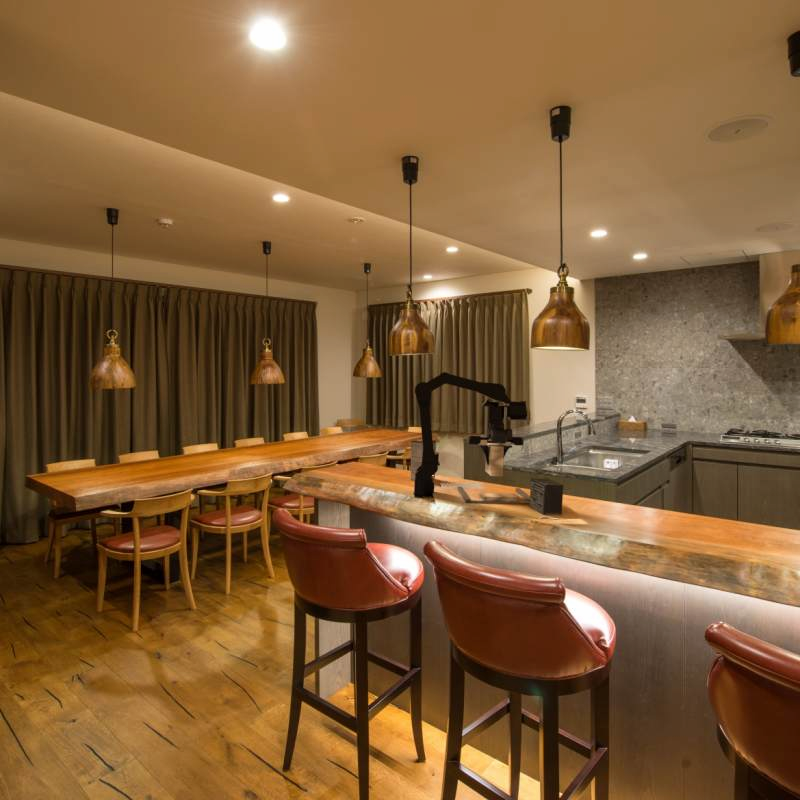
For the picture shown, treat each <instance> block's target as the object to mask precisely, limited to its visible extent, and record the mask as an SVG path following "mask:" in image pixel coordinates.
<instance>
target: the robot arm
mask: <svg viewBox="0 0 800 800" xmlns="http://www.w3.org/2000/svg"><path fill="white" fill-rule="evenodd" d="M444 385H449V386H454V387H456V388H460V389H463V390H464V389H465V390H469V391H472V392H476V393H478V394H480V395H482V396H484V397H486V398H489V399H491V400H493V401H490V400H489V399H485V401H484V402H483V403H482V404H481V407H487V413H486V419H487V420H486V436H481V435H479V434H468V435H467V437H466V443H467V444H468V445H476V446H478V447H480V449H481V452H482V453H483V457H484V459H485V463H487V465H489V455H488V445H487V443H497V444H500V445H501V446H503V447H504V453H503V460H504V459H505V456H506V454H507V452H508V450H509V449H510V448H511V449H512V448H513V445H514V446H524V445H525V444H524V441H525V440H524V438H523V437H522V436H520V435H513V428H506V429H505V418H508V421H523V422H524V421H525V422H526V421H527V418H528V410H527V401H526V400H520V401H518V400H517V401H512V400H511V399H510V398H509V397H508V395H507V390H506V388H505V386H504V385H503V384H501V383H497V382H485V381H483V382H482V381H478V380H474V379H469V378H466V377H461V376H458V375H455V374H452V373H448V372H446V371H443V372H441V373H440V374H439V375H436V376H435V377H433V378H432V379H430V380H428V381H427V382H424V381H421V382H419V383H417V384H416V385H415V388H414V394H415V397H416V401H417V405H418V408H419V415H420V416H419V418H420V429H421V438H422V439H421V440H422V442H423V454H422V465H421V466H420V467H419V468H418V469H416V472H415V476H416V477H414V480H413V481H414V482H413V497H414V498H434V494H435V482H434V479H433V478H432V475H434V474H435V475H436V473H438V470H439V467H440V466H441V464H440V463H441V462H440V460H439V456H440V455H439V451H436V452H435V451H434V448H433V440H434V439H433V431H432V430H433V429H432V417H431V401H432V400H431V399H432V392H433V391H435V390H436V389H439V388H440V387H442V386H444ZM498 401H499V402H500V403H502V404H499V402H498ZM503 404H504V405H503ZM505 404H506V405H505ZM512 444H513V445H512Z"/></svg>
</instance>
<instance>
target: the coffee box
mask: <svg viewBox="0 0 800 800" xmlns="http://www.w3.org/2000/svg"><path fill="white" fill-rule="evenodd" d="M410 444H411V445H410V447H411V448H410V480H411V479H414V477H416V476H415V472H416V469H418V468H419V467H420V466H421V465H422V454H423V442H422V439H413V440H411V443H410ZM436 444H437V440H436V439H435V440H434V439H433V448H434V451H435V452H437V450H436V448H437V445H436ZM432 478H433V480H435V479H436V473H435V474H434V476H432ZM434 478H435V479H434Z"/></svg>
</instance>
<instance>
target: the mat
mask: <svg viewBox="0 0 800 800" xmlns="http://www.w3.org/2000/svg"><path fill="white" fill-rule="evenodd" d="M440 485H441V486H440ZM439 486H440V487H441V489H442V488H445V489H447V488H450V489H457V488H458V486H459V487H462V488H463V489H479V490H481V489H483V490H485V487H484V486H483V485H482V484H481V483H455V482H454V483H453V482H451V483H450V482H448V483H447V482H439Z"/></svg>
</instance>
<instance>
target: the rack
mask: <svg viewBox="0 0 800 800" xmlns="http://www.w3.org/2000/svg"><path fill="white" fill-rule="evenodd" d="M456 489H457V491H458V493H459V494H460V496H461V498H462V499H463V500H464V502H465V503H466V504H491V505H493V504H495V505H501V504H502V505H530V494H528V493H527V492H525V491H524V490H523V489H521V488H520V487H515V490H514V491H515V492H516V493H517V495H518V496H520V497H522V498H523V499H524V500H525V501H519V502H516V501H481V500H476V499H475V500H473V499H471V497H470V496H469V495H468V493H467V492H466V490H465V488H462V487H459V486H458V488H456Z"/></svg>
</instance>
